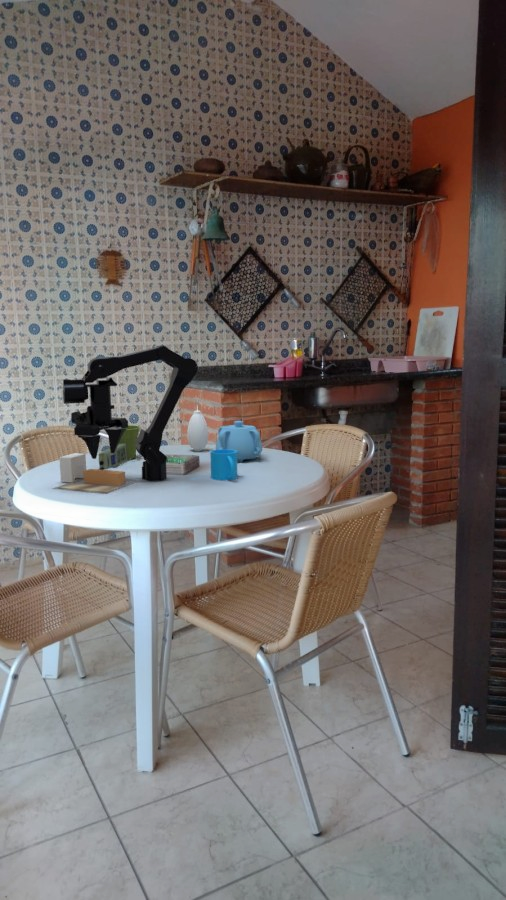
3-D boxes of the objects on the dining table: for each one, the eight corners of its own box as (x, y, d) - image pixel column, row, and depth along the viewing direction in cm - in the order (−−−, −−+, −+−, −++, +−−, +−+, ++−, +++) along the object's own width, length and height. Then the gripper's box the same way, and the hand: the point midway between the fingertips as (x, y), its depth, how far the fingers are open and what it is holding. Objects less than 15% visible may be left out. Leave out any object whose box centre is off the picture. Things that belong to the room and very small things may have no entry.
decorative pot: (213, 463, 223) (212, 424, 220) (218, 454, 238) (217, 418, 236) (260, 463, 222) (260, 424, 219) (262, 454, 237) (262, 418, 235)
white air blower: (200, 453, 241) (199, 405, 238) (183, 451, 245) (182, 404, 242) (212, 450, 247) (211, 403, 244) (196, 448, 252) (195, 402, 248)
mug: (207, 476, 202) (206, 450, 201) (231, 473, 205) (231, 448, 204) (220, 484, 191) (220, 456, 190) (246, 481, 194) (245, 454, 193)
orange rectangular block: (125, 483, 188) (125, 471, 188) (118, 486, 185) (118, 474, 184) (91, 480, 193) (90, 468, 192) (83, 482, 189) (83, 471, 189)
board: (141, 483, 192) (141, 480, 192) (106, 497, 176) (105, 493, 176) (90, 479, 199) (90, 475, 199) (52, 492, 183) (52, 488, 182)
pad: (119, 488, 182) (119, 487, 182) (106, 493, 176) (106, 492, 176) (72, 484, 188) (72, 482, 188) (58, 488, 182) (58, 487, 182)
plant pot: (120, 454, 240) (119, 424, 238) (147, 456, 236) (146, 425, 234) (101, 460, 229) (99, 428, 227) (129, 462, 225) (128, 430, 223)
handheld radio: (128, 461, 228) (101, 476, 203) (119, 461, 228) (91, 476, 204) (127, 443, 227) (99, 455, 202) (118, 443, 227) (89, 456, 203)
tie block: (86, 477, 195) (85, 453, 194) (72, 482, 189) (70, 458, 187) (75, 476, 197) (74, 453, 195) (60, 481, 190) (59, 457, 189)
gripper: (96, 398, 196) (99, 449, 199) (56, 404, 179) (60, 460, 182) (128, 399, 192) (130, 451, 195) (90, 405, 175) (93, 462, 178)
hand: (103, 455), depth 187 cm, fingers open, 9 cm apart
